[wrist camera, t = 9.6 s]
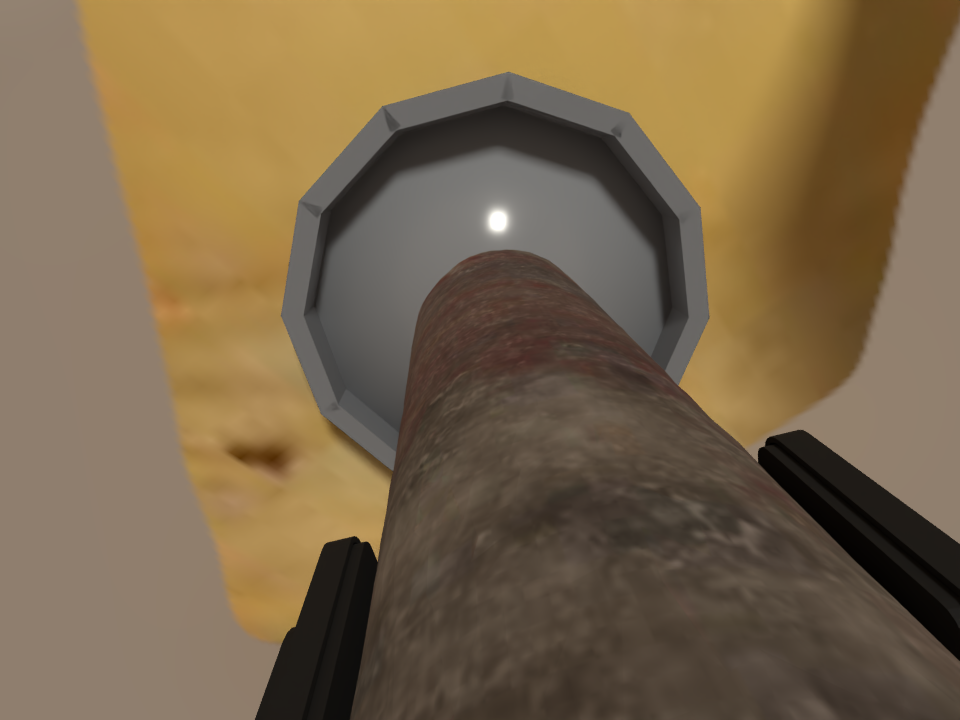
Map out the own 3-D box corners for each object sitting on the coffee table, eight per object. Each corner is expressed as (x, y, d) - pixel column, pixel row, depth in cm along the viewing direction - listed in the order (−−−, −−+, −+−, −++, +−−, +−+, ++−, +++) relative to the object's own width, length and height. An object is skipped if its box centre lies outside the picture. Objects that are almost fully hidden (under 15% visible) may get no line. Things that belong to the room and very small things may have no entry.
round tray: (657, 41, 23) (685, 23, 20) (694, 417, 30) (719, 442, 27) (242, 154, 24) (213, 151, 21) (374, 494, 31) (367, 527, 28)
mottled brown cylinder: (616, 374, 22) (1516, 1518, 3) (468, 443, 23) (524, 1650, 4) (547, 214, 19) (2769, 1291, 1) (383, 298, 20) (-435, 1751, 2)
